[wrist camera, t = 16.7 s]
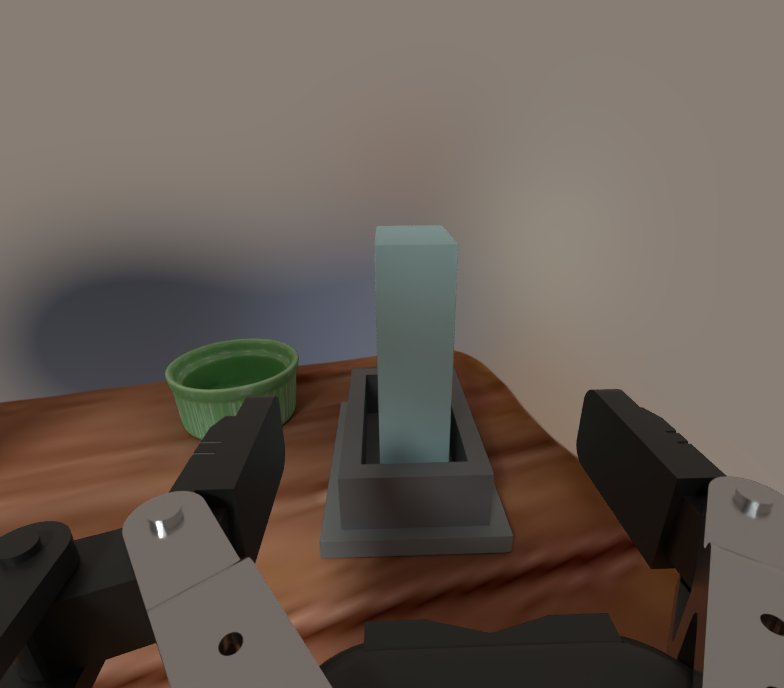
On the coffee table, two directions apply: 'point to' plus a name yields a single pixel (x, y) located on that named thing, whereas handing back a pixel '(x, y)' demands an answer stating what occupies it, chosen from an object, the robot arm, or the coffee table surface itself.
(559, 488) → the coffee table surface
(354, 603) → the coffee table surface
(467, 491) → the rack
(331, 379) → the coffee table surface
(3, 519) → the coffee table surface
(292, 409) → the ramekin
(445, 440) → the tall teal prism
